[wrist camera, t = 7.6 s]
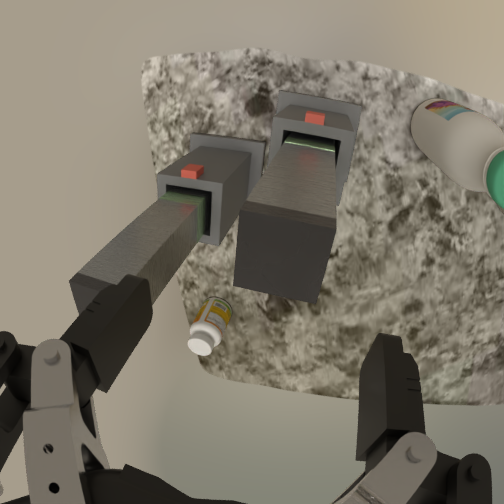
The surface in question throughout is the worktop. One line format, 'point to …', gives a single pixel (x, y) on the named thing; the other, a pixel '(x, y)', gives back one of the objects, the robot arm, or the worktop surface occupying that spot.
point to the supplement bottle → (209, 325)
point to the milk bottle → (462, 145)
